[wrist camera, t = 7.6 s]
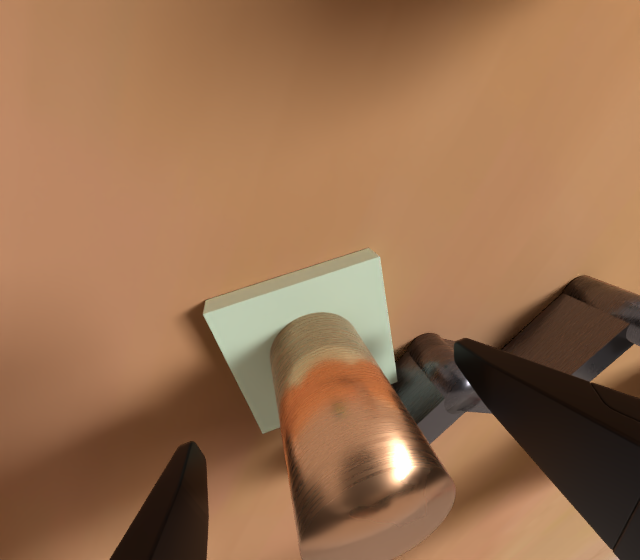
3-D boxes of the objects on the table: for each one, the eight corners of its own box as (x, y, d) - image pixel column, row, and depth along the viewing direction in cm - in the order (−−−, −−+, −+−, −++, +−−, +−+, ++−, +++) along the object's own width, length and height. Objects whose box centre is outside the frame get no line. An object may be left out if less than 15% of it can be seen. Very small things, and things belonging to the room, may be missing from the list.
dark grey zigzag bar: (578, 343, 18) (663, 393, 14) (336, 441, 16) (364, 527, 12) (596, 270, 15) (702, 308, 12) (314, 374, 13) (342, 456, 10)
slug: (364, 369, 13) (456, 529, 7) (284, 399, 12) (321, 592, 7) (350, 299, 11) (454, 442, 6) (256, 331, 11) (277, 517, 5)
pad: (387, 367, 14) (397, 381, 14) (261, 415, 14) (262, 433, 13) (368, 247, 11) (379, 256, 11) (205, 300, 11) (202, 314, 10)
